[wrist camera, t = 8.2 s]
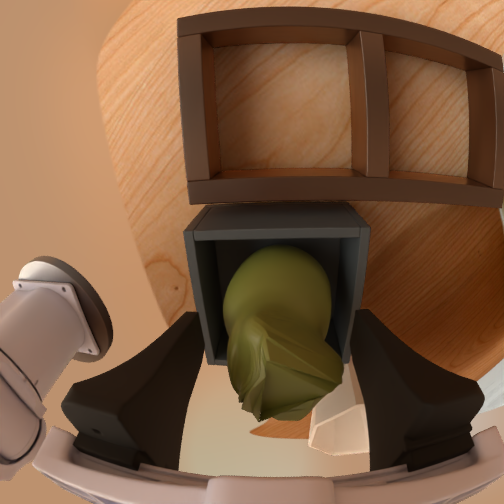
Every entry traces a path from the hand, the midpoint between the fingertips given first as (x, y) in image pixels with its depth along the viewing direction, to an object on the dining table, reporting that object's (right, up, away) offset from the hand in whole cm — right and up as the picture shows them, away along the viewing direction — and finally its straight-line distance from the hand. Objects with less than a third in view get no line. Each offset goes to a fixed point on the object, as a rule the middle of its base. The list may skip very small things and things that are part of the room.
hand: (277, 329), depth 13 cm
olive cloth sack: (+1, +2, +5) cm, 6 cm away
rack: (+5, +12, +1) cm, 13 cm away
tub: (+1, +3, +6) cm, 6 cm away
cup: (+7, -5, +9) cm, 12 cm away
